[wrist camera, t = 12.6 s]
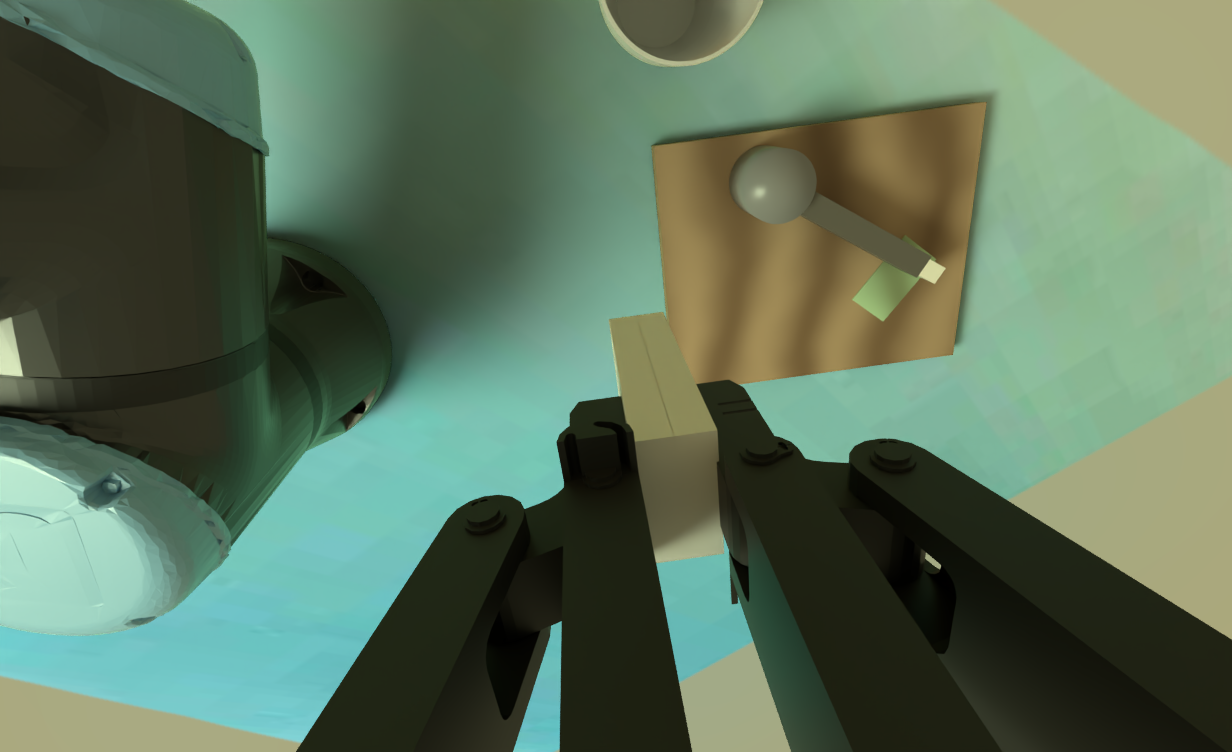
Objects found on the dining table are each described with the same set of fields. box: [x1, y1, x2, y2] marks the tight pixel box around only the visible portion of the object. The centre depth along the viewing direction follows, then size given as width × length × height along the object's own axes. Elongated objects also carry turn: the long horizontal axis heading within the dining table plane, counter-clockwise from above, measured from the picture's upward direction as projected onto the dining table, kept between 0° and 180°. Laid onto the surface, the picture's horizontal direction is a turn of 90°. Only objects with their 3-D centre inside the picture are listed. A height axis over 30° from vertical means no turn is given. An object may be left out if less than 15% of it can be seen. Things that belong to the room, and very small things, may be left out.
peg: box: [729, 145, 946, 284], centre depth 38 cm, size 16×4×4 cm, turn 64°
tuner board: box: [651, 102, 987, 384], centre depth 42 cm, size 22×18×1 cm
